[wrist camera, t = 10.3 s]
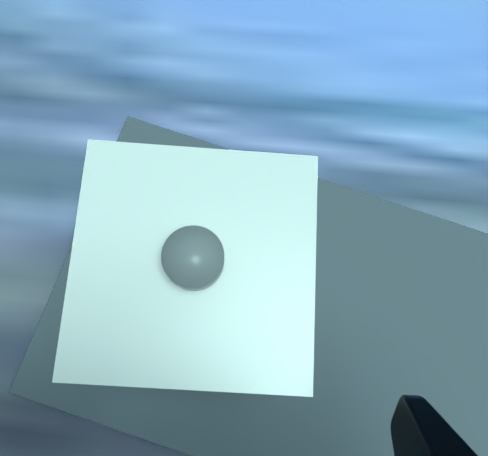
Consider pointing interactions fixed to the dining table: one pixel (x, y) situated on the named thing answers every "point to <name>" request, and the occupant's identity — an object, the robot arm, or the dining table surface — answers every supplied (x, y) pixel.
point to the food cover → (192, 271)
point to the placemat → (322, 341)
